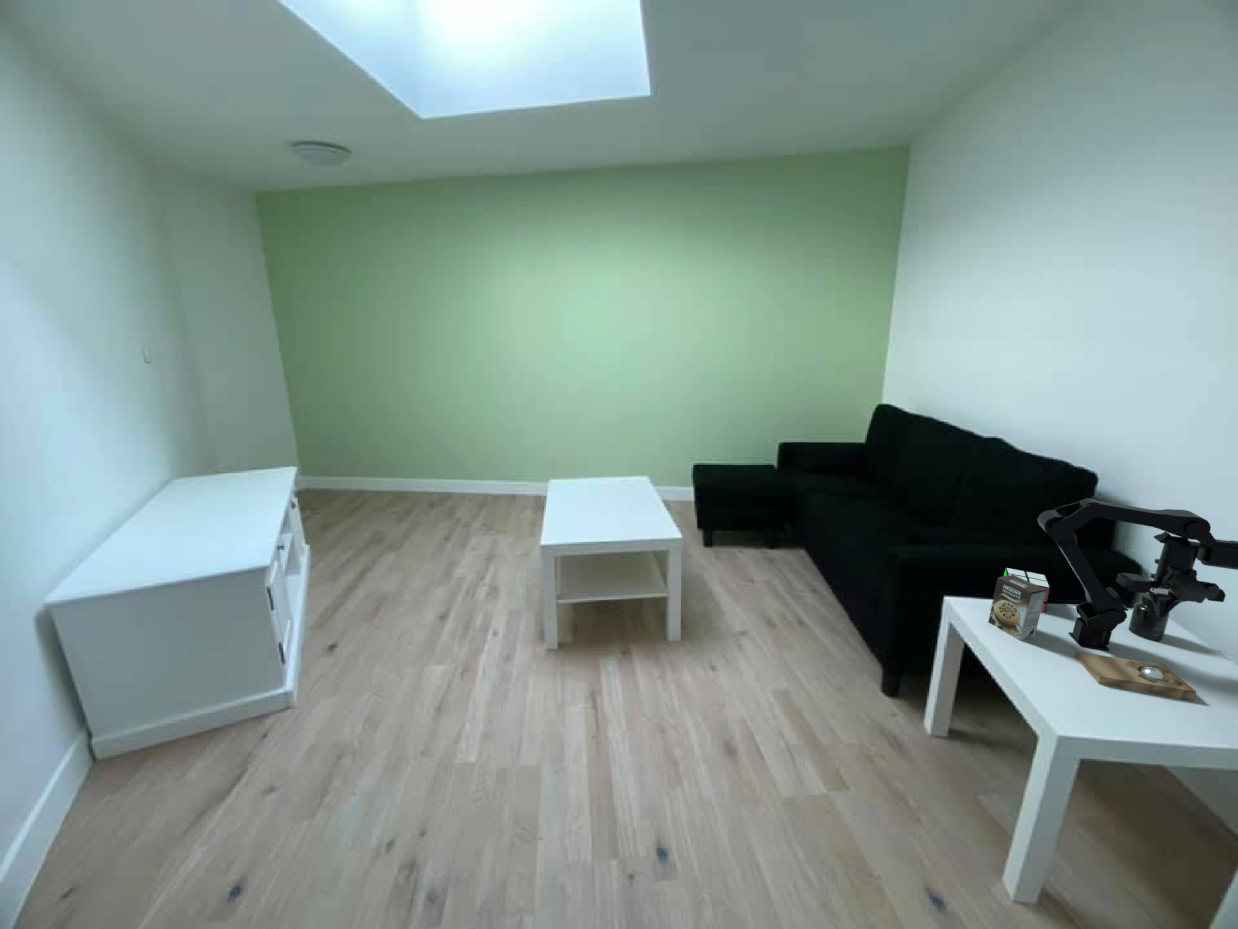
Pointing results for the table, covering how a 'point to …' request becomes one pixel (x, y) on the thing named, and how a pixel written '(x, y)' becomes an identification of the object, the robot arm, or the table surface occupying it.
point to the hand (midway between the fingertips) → (1159, 616)
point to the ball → (1152, 673)
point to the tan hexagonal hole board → (1134, 676)
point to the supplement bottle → (1147, 620)
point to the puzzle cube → (1034, 579)
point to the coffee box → (1016, 606)
